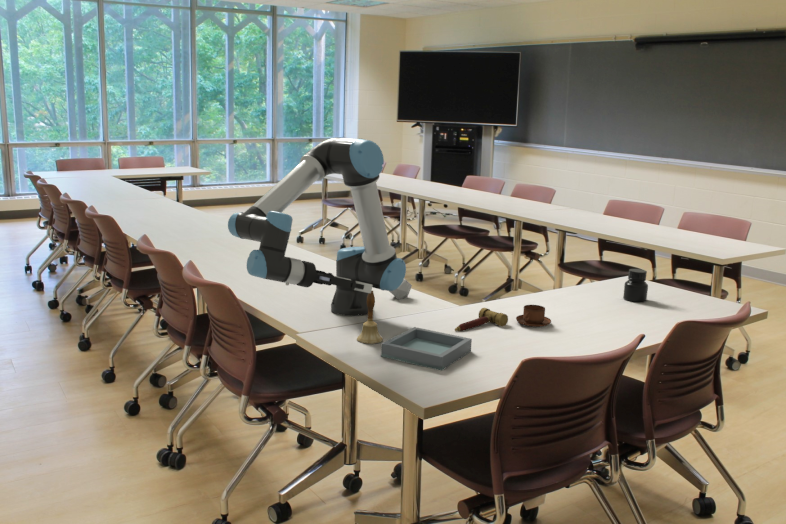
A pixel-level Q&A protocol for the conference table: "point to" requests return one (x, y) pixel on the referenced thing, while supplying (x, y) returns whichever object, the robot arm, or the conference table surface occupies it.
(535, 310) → the cup and saucer
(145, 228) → the conference table surface
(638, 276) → the ink bottle
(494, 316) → the gavel
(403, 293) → the grey polyhedron block
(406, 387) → the conference table surface
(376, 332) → the hand bell
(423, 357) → the box
